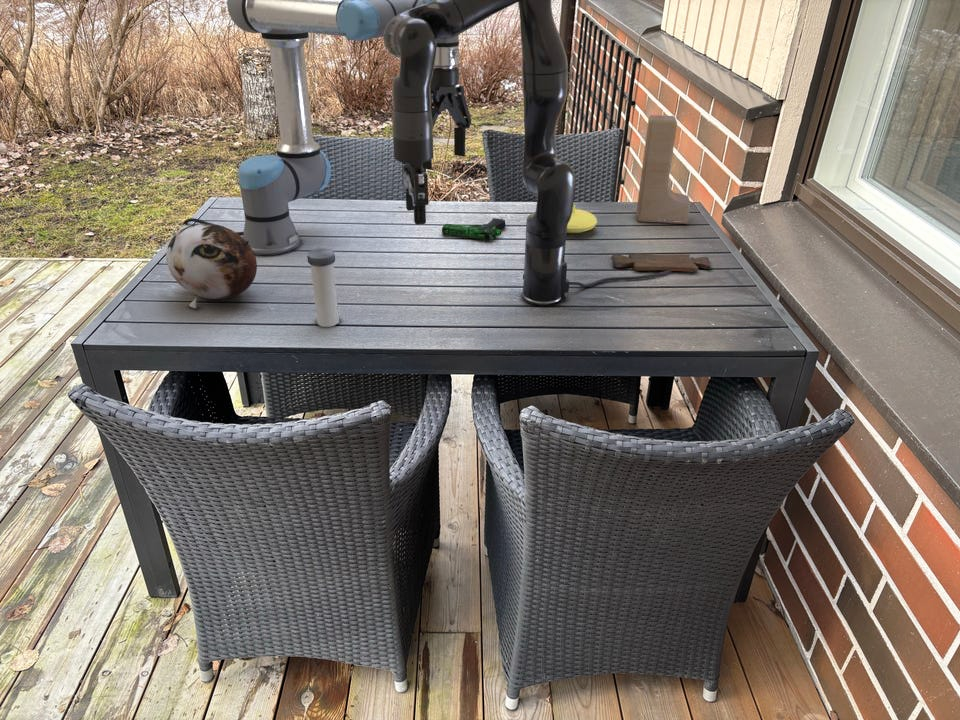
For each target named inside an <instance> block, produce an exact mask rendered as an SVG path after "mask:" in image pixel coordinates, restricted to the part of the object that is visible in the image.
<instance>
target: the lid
mask: <svg viewBox="0 0 960 720" xmlns="http://www.w3.org/2000/svg"><path fill="white" fill-rule="evenodd" d="M335 262H336V255H335V251H334V250H333V249H330V248H315V249H312V250H310V251H308V252H307V263H308V264H309V265H310V266H311V265H312V266H328V265H331V264H333V265H334V263H335Z"/></svg>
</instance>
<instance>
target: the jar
mask: <svg viewBox="0 0 960 720" xmlns="http://www.w3.org/2000/svg"><path fill="white" fill-rule="evenodd" d="M310 271H311V272H310V273H311V279H312V290H313V297H314V298H313V299H314V304H315V305H314V307H315V314H316V323H317V325H318V326H320V327H322V328H331V327H334V326H336V325H338V324H339V323H340V318H339V307H338V296H337V287H336V277H335V265H334V263H333V264H331V265H328V266H312V265H310Z"/></svg>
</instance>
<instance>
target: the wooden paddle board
mask: <svg viewBox="0 0 960 720" xmlns="http://www.w3.org/2000/svg"><path fill="white" fill-rule="evenodd" d="M690 258H691V254H689V253H687V254H686V253H680V254H679V253H669V254H667V253H666V254H665V253H664V254H661V253H660V254H657V253H636V252H635V253H633V252H632V253H631V252H630V253H628V256H626V255H623V254H621V253H619V254H612V255H611V261H612V264H613V267H614V268H615V269H623V268H629V267H633V270H634V271H637V272H647V271H663V272H664V271H667V270H670V271H671V272H688V273H689V272H692V273H693V272H694V273H695V272H698V271H699V269H700V268H701V269H705V270H710V269H711V262H710V259H709V256H700V257H693V259H690Z"/></svg>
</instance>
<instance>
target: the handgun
mask: <svg viewBox="0 0 960 720" xmlns="http://www.w3.org/2000/svg"><path fill="white" fill-rule="evenodd" d="M505 228H506V220H505V219H503V218H497V217H492V219H491V220H490V221H489V222H488V223H483V224H482V225H479V224H472V225H459V224H453V223H445V224H443V226H442V227H441V235H446V236H454V237H462V238H469V239H470V238H471V239H474V240H479V241H484V242H491V241H492V240H494V239H495V238H497V237H500V236H502V230H504V229H505Z"/></svg>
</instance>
